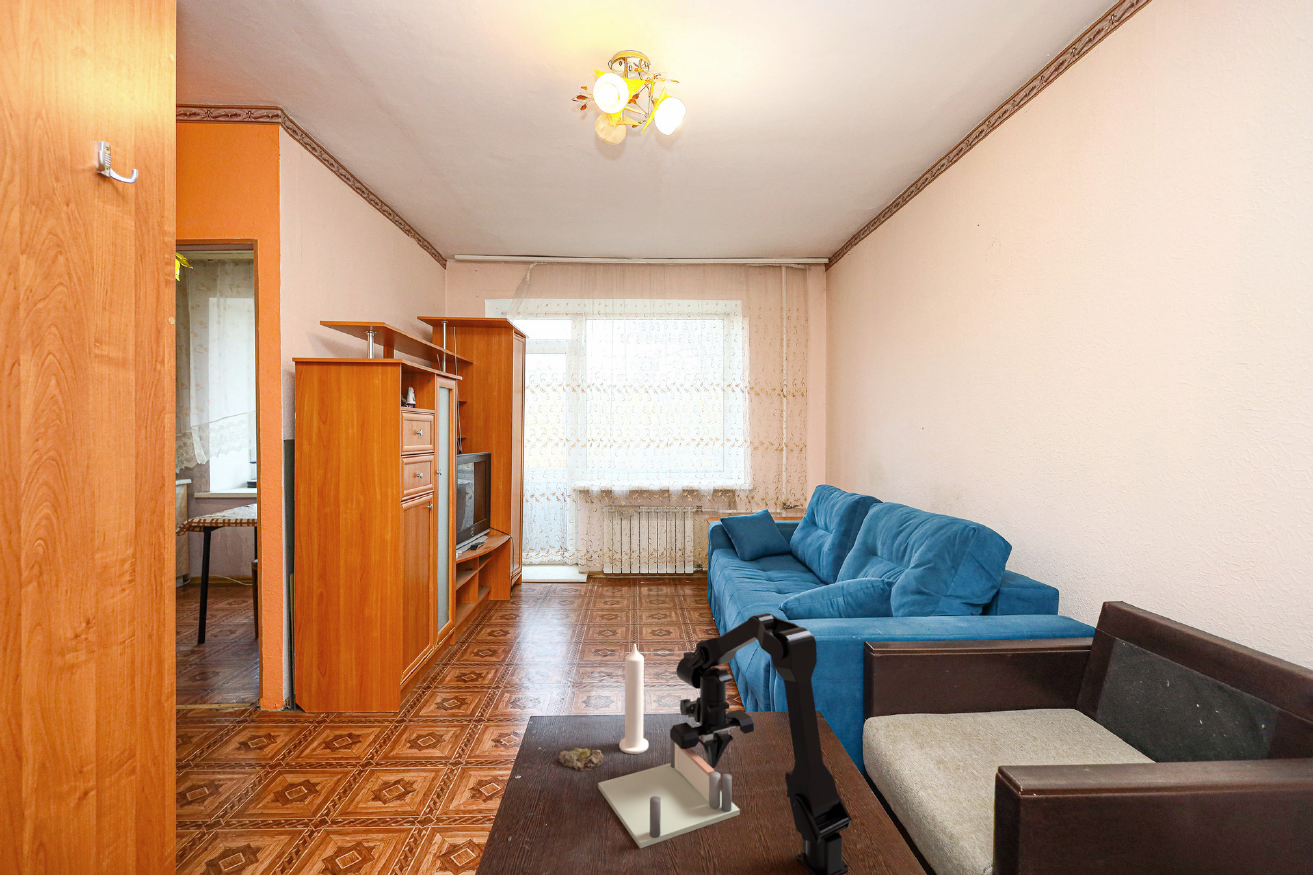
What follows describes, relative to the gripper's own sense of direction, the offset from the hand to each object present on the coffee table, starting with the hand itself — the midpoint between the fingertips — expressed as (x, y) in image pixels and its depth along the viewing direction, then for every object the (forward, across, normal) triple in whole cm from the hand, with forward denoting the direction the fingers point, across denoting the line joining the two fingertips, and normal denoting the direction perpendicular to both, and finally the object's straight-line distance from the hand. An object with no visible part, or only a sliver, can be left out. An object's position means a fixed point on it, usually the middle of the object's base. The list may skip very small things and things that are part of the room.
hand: (712, 766), depth 130 cm
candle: (+3, +10, -20) cm, 22 cm away
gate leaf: (+1, +6, +3) cm, 7 cm away
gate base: (+3, +13, +3) cm, 13 cm away
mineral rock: (+3, +24, -19) cm, 31 cm away
